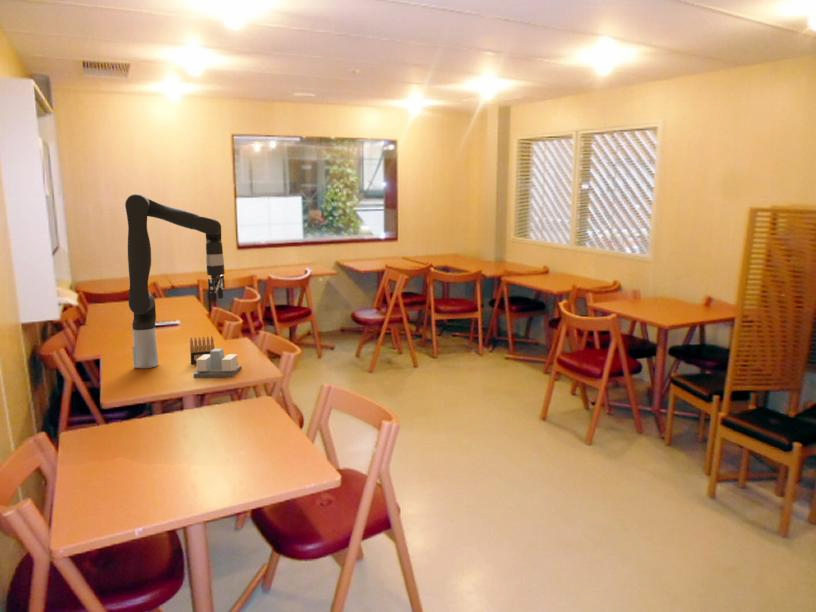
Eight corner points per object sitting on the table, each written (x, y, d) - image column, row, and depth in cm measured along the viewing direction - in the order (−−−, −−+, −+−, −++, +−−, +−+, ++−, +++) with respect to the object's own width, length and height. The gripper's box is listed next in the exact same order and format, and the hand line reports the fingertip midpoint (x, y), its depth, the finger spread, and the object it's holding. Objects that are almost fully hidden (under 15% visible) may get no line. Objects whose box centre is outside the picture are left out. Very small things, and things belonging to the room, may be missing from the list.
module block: (211, 369, 253) (210, 351, 252) (215, 366, 258) (214, 348, 257) (220, 369, 253) (219, 351, 252) (224, 366, 258) (223, 348, 257)
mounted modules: (197, 371, 251) (196, 359, 251) (204, 365, 260) (204, 354, 259) (231, 371, 251) (230, 359, 250) (238, 365, 260) (237, 354, 259)
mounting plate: (193, 377, 250) (193, 372, 249) (205, 369, 263) (204, 364, 262) (232, 377, 249) (231, 372, 249) (241, 368, 262) (241, 364, 262)
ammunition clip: (190, 364, 272) (188, 338, 270) (190, 363, 273) (189, 337, 271) (215, 361, 275) (214, 336, 273) (215, 360, 277) (213, 335, 275)
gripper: (212, 262, 278) (214, 297, 280) (201, 265, 264) (203, 302, 266) (228, 262, 277) (230, 297, 280) (218, 265, 263) (220, 302, 266)
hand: (217, 299), depth 273 cm, fingers open, 8 cm apart
